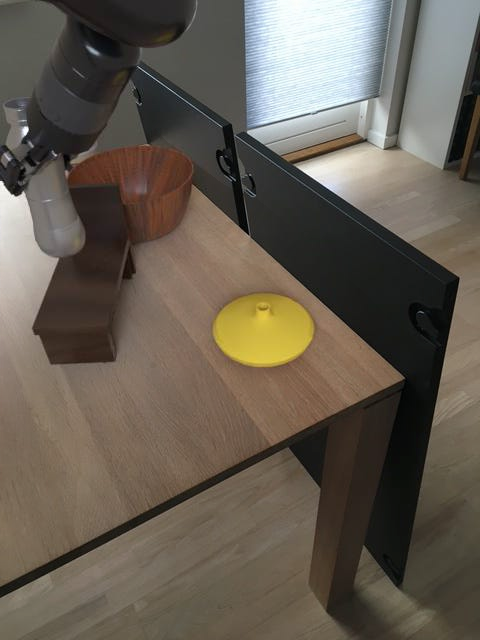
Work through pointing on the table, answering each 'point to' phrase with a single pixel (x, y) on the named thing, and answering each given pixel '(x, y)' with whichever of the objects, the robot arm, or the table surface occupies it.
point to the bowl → (143, 185)
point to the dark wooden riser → (88, 281)
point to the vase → (263, 330)
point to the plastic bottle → (47, 194)
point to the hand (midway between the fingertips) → (34, 178)
